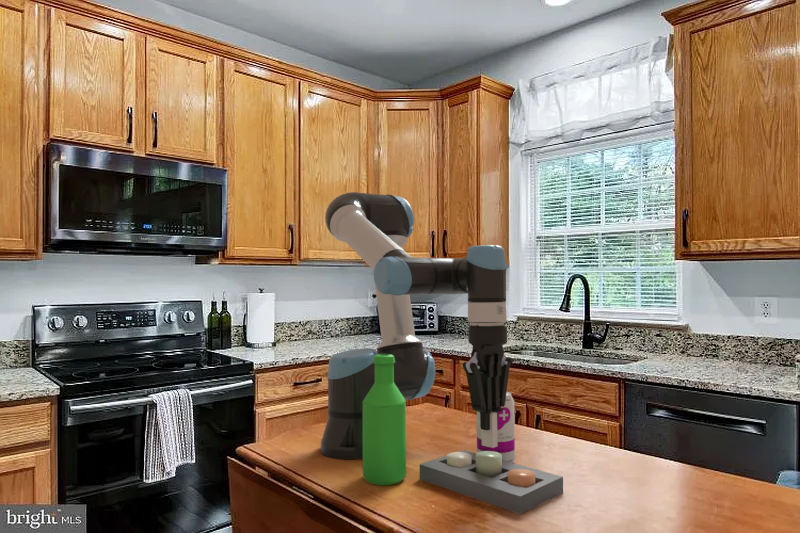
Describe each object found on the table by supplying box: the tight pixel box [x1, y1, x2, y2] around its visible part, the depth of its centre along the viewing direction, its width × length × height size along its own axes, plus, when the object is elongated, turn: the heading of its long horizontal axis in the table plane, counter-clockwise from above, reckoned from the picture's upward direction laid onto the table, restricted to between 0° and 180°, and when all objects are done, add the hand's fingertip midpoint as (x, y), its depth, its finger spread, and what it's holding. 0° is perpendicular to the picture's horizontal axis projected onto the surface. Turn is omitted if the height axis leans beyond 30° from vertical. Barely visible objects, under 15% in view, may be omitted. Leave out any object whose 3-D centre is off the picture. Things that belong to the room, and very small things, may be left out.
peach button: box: [508, 469, 535, 488], centre depth 104 cm, size 5×5×4 cm
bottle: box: [362, 354, 407, 486], centre depth 114 cm, size 9×9×25 cm
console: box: [419, 449, 564, 515], centre depth 110 cm, size 24×14×3 cm, turn 44°
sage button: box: [475, 451, 502, 477], centre depth 110 cm, size 5×5×4 cm
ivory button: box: [446, 451, 472, 468], centre depth 115 cm, size 5×5×4 cm
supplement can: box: [476, 391, 516, 463], centre depth 124 cm, size 8×8×15 cm
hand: (489, 445), depth 109 cm, fingers closed
